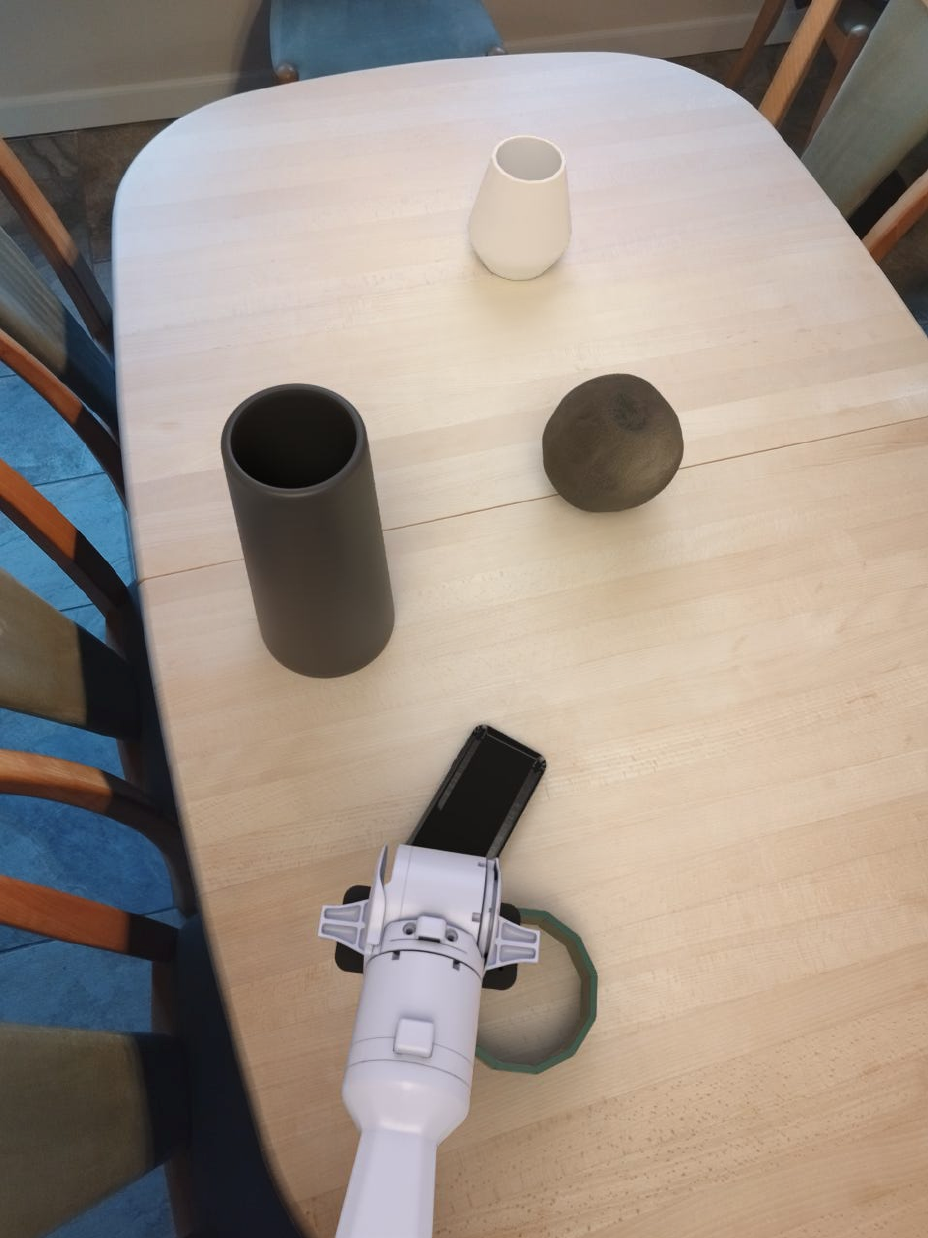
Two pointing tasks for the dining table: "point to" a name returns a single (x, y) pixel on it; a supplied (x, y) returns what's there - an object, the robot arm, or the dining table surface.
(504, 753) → the phone
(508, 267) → the cup
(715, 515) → the dining table surface
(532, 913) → the green polygonal ring
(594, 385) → the dark brown round lump
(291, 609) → the vase
